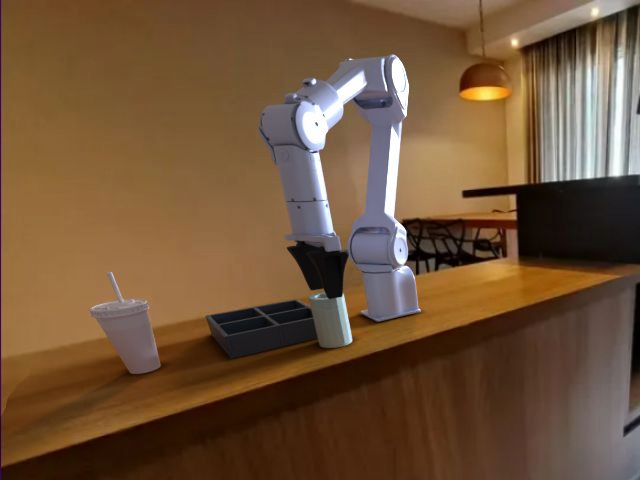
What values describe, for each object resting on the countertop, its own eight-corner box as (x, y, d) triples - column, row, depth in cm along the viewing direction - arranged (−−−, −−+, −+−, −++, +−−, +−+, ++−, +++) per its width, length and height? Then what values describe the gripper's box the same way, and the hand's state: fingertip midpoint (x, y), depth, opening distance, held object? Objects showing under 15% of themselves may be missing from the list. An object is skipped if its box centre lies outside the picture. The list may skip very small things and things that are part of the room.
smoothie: (182, 360, 67) (147, 268, 61) (146, 378, 61) (104, 278, 55) (144, 359, 68) (105, 268, 62) (105, 377, 62) (59, 278, 56)
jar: (344, 335, 77) (336, 289, 73) (357, 342, 73) (348, 295, 70) (314, 342, 73) (304, 295, 70) (326, 350, 70) (315, 301, 66)
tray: (300, 316, 87) (296, 299, 85) (330, 335, 77) (326, 315, 75) (211, 335, 78) (205, 315, 76) (231, 358, 67) (224, 336, 66)
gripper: (263, 200, 66) (285, 289, 72) (294, 204, 56) (316, 307, 62) (310, 198, 70) (327, 282, 76) (347, 201, 61) (363, 297, 66)
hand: (325, 293), depth 70 cm, fingers open, 7 cm apart
